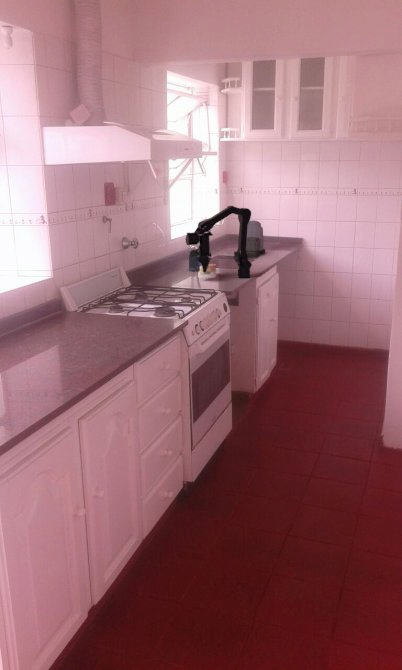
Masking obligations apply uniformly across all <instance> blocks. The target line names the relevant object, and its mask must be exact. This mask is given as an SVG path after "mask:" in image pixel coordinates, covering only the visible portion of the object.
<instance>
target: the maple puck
mask: <svg viewBox="0 0 402 670" xmlns="http://www.w3.org/2000/svg"><path fill="white" fill-rule="evenodd" d="M200 274H210V266H208V267H207V270H206V272H203V268H202V266H200Z"/></svg>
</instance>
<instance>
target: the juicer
mask: <svg viewBox="0 0 402 670" xmlns="http://www.w3.org/2000/svg"><path fill="white" fill-rule="evenodd" d="M246 251H247V255H248V259H258V258H259V257H261V255H262V256H263V255H265V254H266V249H265V248H264V228H263V227H262V224H261V222H259V221H258V220H255V219H254V220H250V221H249V223H248V227H247V241H246Z"/></svg>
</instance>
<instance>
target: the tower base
mask: <svg viewBox="0 0 402 670" xmlns="http://www.w3.org/2000/svg"><path fill="white" fill-rule="evenodd" d="M197 273H198V275H197V276H198V277H197V278H199V279H200V278H201V279H202V278H203V279H204V278H205V279H207V278H208V279H209V278H210V279H211V278H212V279H214V278H216V277H217V274H218V273H217V269H216V270H215V272H210V274H200V271H197Z"/></svg>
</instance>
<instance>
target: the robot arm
mask: <svg viewBox="0 0 402 670" xmlns="http://www.w3.org/2000/svg"><path fill="white" fill-rule="evenodd" d="M232 214H233V215H236V216H237V220H238V222H239V230H238V243H237V250H236V251H234V253H233V259H234V262H235V263H236V264H237V267H238V269H237V277H238V278H239V279H250V278H251V268H252V267H253V263H251V261H249V258H248V255H247V251H246V241H247V227H248V223H249V221H251V218H252V210H251V209H250V208H247V207H235V206H234V205H227V207H225V208H223V209H222V210H221V211H219V212H217V213H216V214H214V215H213V216H212V217H209V218H207V219H203V220H200V221H199V222H198V223H197V227H196V229H195V231H194V232H186V235H185V236H186V237H185V244H186V245H187V246H195V245H198V244H199V246H198V248H195V249H191V250H190V251H189V254H190V255H191V258H192V257H194V256H196V255H199V257H198V261H199V262H200V263H201V264H202V268H203V272H206V270H207V267H208V265H209V264H210V261H211V260H212V252H211V250H210V248H211V245H210V242H211V241H210V236H211V237H212V236H214V234H213V233H212V232H211V229H213V228H214V227H215V225H216V224H217V223H219V222H221V221H222V220H224V219H225V218H227V217H228V216H230V215H232Z"/></svg>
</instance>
